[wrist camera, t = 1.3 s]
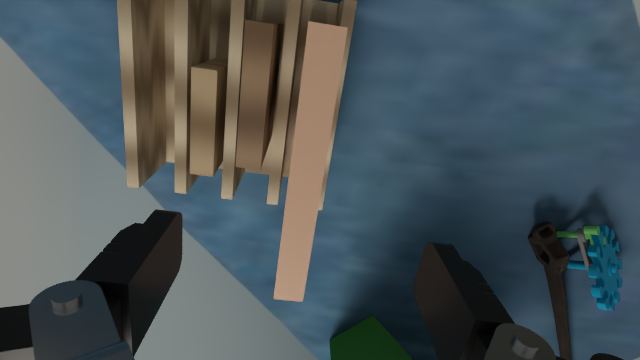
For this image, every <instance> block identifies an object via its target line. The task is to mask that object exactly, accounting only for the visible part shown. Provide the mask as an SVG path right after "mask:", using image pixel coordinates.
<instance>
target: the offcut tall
mask: <svg viewBox="0 0 640 360" xmlns="http://www.w3.org/2000/svg"><path fill="white" fill-rule="evenodd" d="M283 25H284V24H280V23H273V22H267V21H258V20H245V31H244V46H243V61H242V77H241V92H240V107H239V123H238V138H237V153H236V167H240V168H248V169H256V170H261V167H262V164H263V161H264V158H265V155H266V152H267V149H268V146H269V143H270V140H271V138H272V132H273V122H274V113H275V103H276V93H277V83H278V73H279V64H280V54H281V44H282V34H283Z"/></svg>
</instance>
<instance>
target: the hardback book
mask: <svg viewBox="0 0 640 360" xmlns="http://www.w3.org/2000/svg"><path fill="white" fill-rule="evenodd" d="M330 354H331V360H413V359H412V358H411V357H410V356H409V354H408V353H407V352H406V351H405V350H404V349H403V348H402V347H401V346H400V344H399V343H398V342H397V341H396V340H395V339H394V338H393V337H392V335H391V334H390V333H389V332H388V331H387V330H386V329H385V328H384V327H383V325H382V324H381V323H380V322H379V321H378V320H377V319H376V318H375V317H374V315H372V316H370V317H368V318H367V319H365V320H363V321H362V322H360V323H358V324H356V325H355V326H353V327H351V328H349V329H348V330H346V331H344V332H342V333H341V334H339V335H337V336H336V337H334V338H332V339H330Z"/></svg>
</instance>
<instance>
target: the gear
mask: <svg viewBox="0 0 640 360" xmlns="http://www.w3.org/2000/svg"><path fill="white" fill-rule="evenodd" d="M556 233H557V237H565V238H577V239H578V242H579V246H580V249H581V253H582V256H583V260H584V261H573V260H569V262H568V266H567V268H571V269H582V270H587V272H588V276H589V277H592V278H595V279H596V285H592V286H591V292H592V297H598V298H597V306H598V308H599V309H603V310H613V311H615V303H618V302H619V301H620V295H619V292H618V288H621V287H622V278H621V277H620V276H619V273H618V269H622V260H621V259H617V258H616V256H615V251H616V252H619V243H618V241H612V239H614V237H615V234H614V231H613V229H609V228H608V227H607V226H603V225H597V226H584V228H578V230H577V232H564V231H557V232H556ZM589 239H590V243H591V245H589V244H588V240H589Z"/></svg>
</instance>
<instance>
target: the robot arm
mask: <svg viewBox="0 0 640 360" xmlns="http://www.w3.org/2000/svg"><path fill="white" fill-rule="evenodd" d="M181 260H182V214H181V213H180V212H173V211H165V210H155V211H154V212H153V213H152V214H151V215H150V216H149V218H148V219H147V220H146V221H145V222H144V224H140V223H134V224H132V225H131V226H129V227H127V228H125V229H123V230H121V231H120V232H119V233H118V234H117V235H116V236H115V237H114V238H113V239H112V241H111V243H109V244H108V245H107V246H106V247H105V248H104V249H103V252H100V253H99V255H98V256H97V257H96V258H95V259H94V260H93V261H92V262H91V263H90V264H89V266H88V267H87V268H86V269H85V270H84V271H83V272H82V273H81V274H80V275H79V276H78V278H77V279H76V280H74V281H68V282H63V283H59V284H56V285H54V286H51V287H49V288H47V289H45V290H43V291H42V292H41V293H39V294H38V295H37V296H36V297H35V298H34V299H33V300H32V302H31V303H30V304H27V305H20V306H12V307H3V308H0V360H134V355H135V353H136V351H137V349H138V348H139V346H140V344H141V342H142V340H143V338H144V336H145V334H146V332H147V331H148V329H149V327H150V325H151V323H152V321H153V319H154V317H155V315H156V314H157V312H158V310H159V308H160V306H161V304H162V302H163V300H164V299H165V297H166V295H167V293H168V291H169V289H170V287H171V285H172V283H173V281H174V279H175V278H176V276H177V274H178V272H179V269H180V265H181ZM493 293H494V292H493V291H492V289H491V288H490V286H489V285H487V282H486V281H485V279H484V278H483V276H482V275H481V273H480V272H479V271H478V270H477V269H476V268H474V267H473V266H472V265H471V264H469V263H468V262H467V261H463V260H462V259H461V257H460V256H459V254H458V252H457V251H456V249H455V248H454V246H453V245H450V244H442V243H433V242H429V243H427V245H426V247H425V249H424V253H423V256H422V259H421V263H420V266H419V269H418V272H417V276H416V279H415V284H414V294H415V299H416V302H417V305H418V307H419V310H420V312H421V315H422V318H423V320H424V323H425V326H426V328H427V331H428V333H429V336H430V339H431V341H432V344H433V346H434V349H435V352H436V354H437V357H438V359H439V360H566V359H563V358H560V357H557V356H555V353H554V351H553V349H552V348H551V346H550V345H549V344H548V343H547V342H546V341H545V340H544V339H543V338H542V337H541V336H539V335H538V334H536V333H535V332H533V331H532V330H530V329H528V328H525V327H523V326H520V325H517V324H515V323H514V321H513V320H512V318H511V317H510V316H509V314H508V313H507V311H506V310H505V308H504V307H503V305H502V304H501V302H500V301H499V300H498V298H497V297H496V295H494V294H493ZM590 360H623V359H621V358H618V357H616V356H613V355H610V354H604V353H598V354H594V355H593V356H592V357H591V359H590Z"/></svg>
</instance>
